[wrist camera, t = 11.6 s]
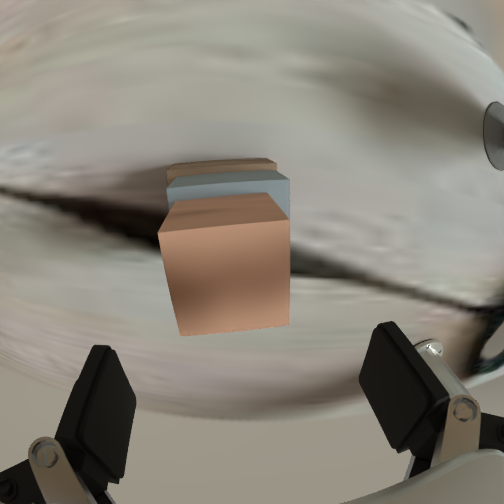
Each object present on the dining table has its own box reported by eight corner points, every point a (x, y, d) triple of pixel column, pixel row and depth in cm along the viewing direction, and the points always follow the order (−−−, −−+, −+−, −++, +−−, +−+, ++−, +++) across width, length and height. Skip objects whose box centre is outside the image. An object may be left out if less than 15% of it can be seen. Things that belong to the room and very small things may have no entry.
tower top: (275, 258, 26) (288, 285, 21) (187, 265, 25) (182, 295, 21) (274, 169, 23) (289, 179, 18) (176, 176, 22) (166, 188, 17)
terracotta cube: (270, 273, 21) (289, 324, 15) (187, 282, 20) (180, 336, 15) (267, 192, 18) (289, 220, 13) (175, 201, 18) (157, 232, 12)
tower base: (267, 242, 31) (276, 262, 26) (183, 248, 30) (178, 270, 25) (266, 158, 27) (276, 163, 22) (174, 163, 26) (166, 170, 21)
